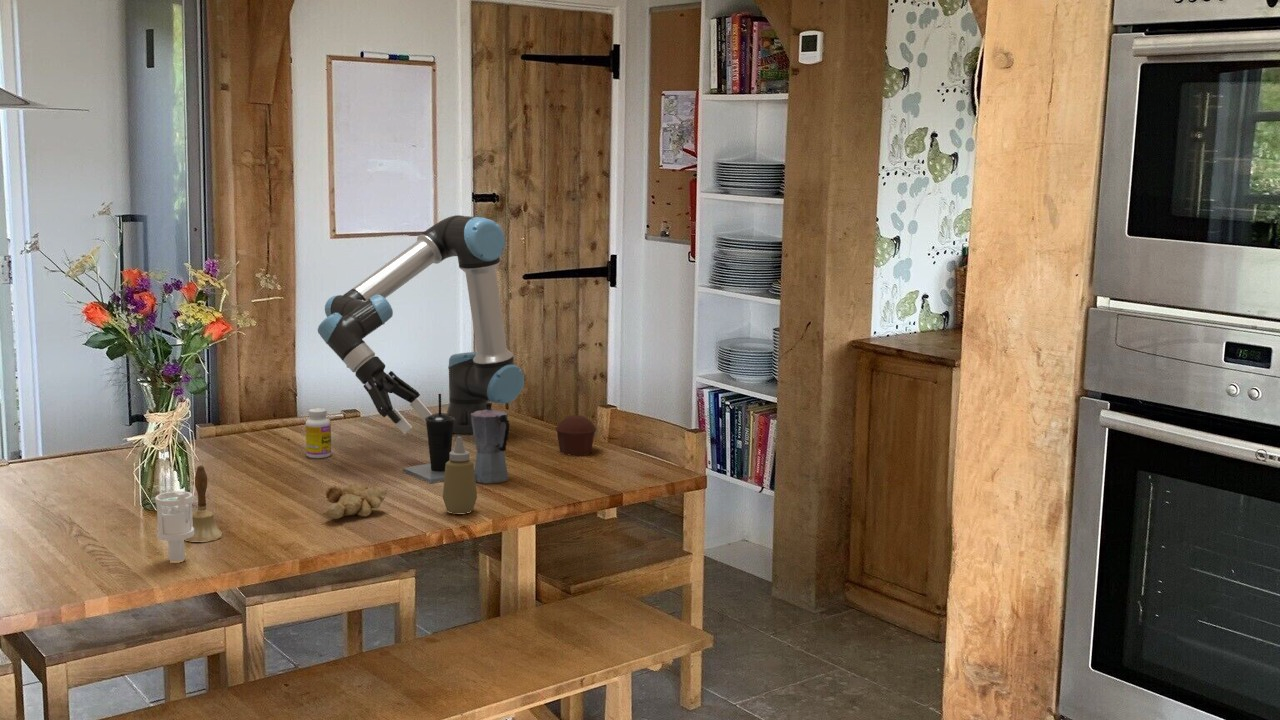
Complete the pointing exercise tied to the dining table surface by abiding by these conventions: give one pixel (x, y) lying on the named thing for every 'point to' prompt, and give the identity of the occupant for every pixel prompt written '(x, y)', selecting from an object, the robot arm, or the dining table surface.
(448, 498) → the squeeze bottle
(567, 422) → the muffin
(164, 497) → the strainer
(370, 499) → the ginger root
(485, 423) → the moka pot
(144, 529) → the dining table surface
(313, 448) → the supplement bottle
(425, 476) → the slate coaster
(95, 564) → the dining table surface
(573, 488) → the dining table surface
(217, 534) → the hand bell
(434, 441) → the drinking cup
